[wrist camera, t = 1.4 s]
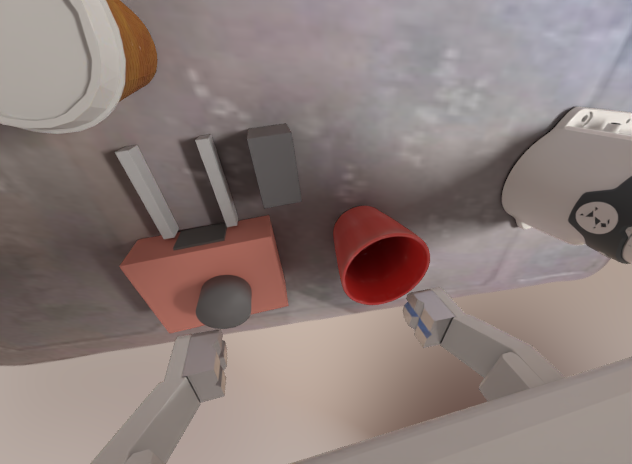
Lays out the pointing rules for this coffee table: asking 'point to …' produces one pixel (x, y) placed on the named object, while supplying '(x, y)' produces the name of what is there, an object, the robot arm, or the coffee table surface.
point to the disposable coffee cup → (69, 62)
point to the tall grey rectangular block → (274, 164)
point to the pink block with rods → (202, 256)
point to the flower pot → (377, 256)
